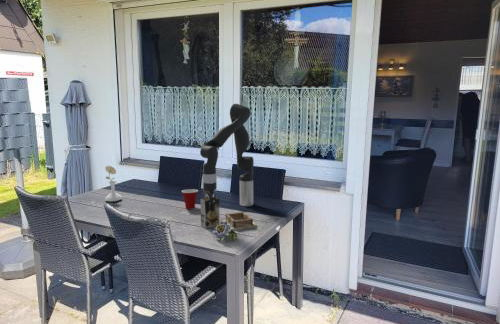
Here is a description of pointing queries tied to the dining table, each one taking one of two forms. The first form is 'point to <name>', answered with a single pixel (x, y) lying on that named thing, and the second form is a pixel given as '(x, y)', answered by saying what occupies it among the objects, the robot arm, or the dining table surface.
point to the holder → (239, 221)
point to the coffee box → (209, 214)
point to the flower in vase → (112, 186)
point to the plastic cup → (190, 198)
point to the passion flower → (224, 231)
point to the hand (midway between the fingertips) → (210, 209)
